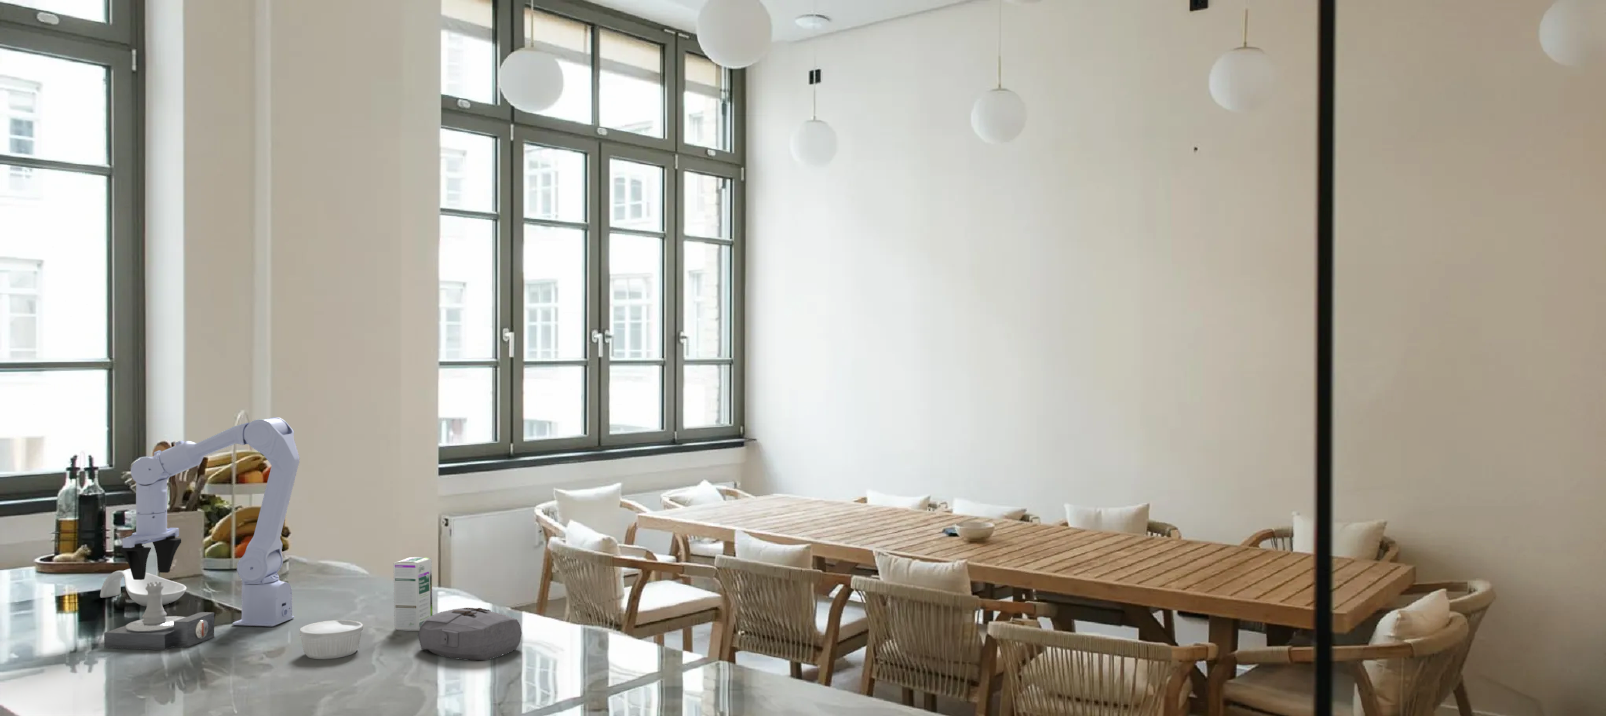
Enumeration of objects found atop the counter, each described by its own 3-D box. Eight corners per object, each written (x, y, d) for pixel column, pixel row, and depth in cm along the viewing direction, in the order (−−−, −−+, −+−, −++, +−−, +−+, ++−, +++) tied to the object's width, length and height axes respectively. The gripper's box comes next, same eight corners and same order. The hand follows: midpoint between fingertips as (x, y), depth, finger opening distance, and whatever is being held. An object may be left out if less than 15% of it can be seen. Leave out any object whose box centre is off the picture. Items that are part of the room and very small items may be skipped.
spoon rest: (197, 601, 258) (197, 571, 258) (149, 612, 248) (149, 580, 248) (131, 592, 268) (131, 563, 268) (83, 602, 257) (83, 572, 257)
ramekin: (375, 648, 216) (375, 622, 216) (333, 663, 206) (333, 635, 206) (329, 643, 220) (329, 617, 220) (286, 658, 209) (286, 630, 209)
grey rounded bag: (531, 648, 217) (458, 635, 227) (531, 606, 217) (458, 595, 227) (474, 667, 204) (399, 653, 213) (474, 622, 204) (399, 610, 213)
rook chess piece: (149, 620, 224) (148, 580, 224) (171, 619, 224) (171, 580, 224) (137, 625, 220) (137, 585, 220) (160, 625, 220) (160, 585, 220)
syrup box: (418, 631, 229) (418, 562, 229) (392, 630, 231) (393, 561, 231) (433, 624, 235) (433, 557, 235) (408, 623, 236) (408, 556, 236)
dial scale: (224, 634, 227) (224, 609, 227) (180, 650, 214) (180, 625, 214) (151, 631, 229) (151, 607, 229) (104, 647, 216) (104, 622, 216)
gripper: (158, 507, 243) (158, 568, 243) (109, 517, 228) (109, 582, 228) (187, 508, 242) (187, 569, 242) (140, 517, 228) (140, 583, 228)
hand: (151, 575), depth 235 cm, fingers open, 7 cm apart
